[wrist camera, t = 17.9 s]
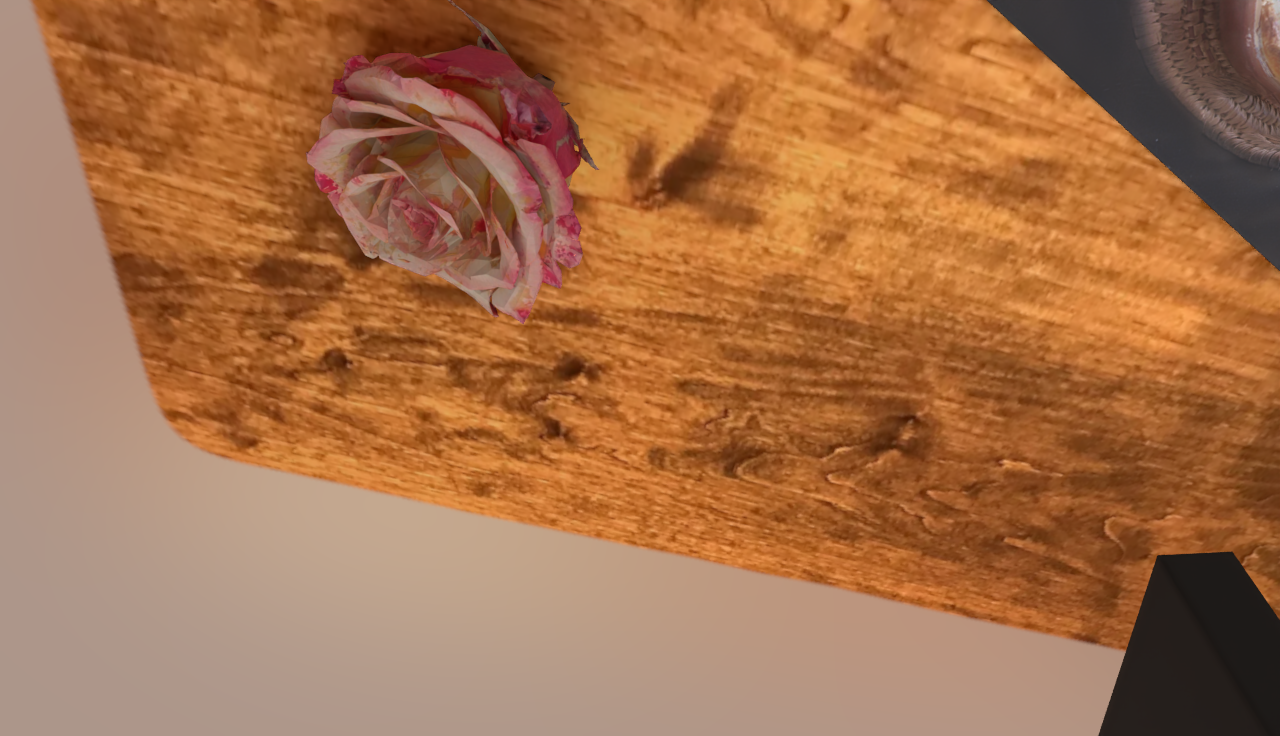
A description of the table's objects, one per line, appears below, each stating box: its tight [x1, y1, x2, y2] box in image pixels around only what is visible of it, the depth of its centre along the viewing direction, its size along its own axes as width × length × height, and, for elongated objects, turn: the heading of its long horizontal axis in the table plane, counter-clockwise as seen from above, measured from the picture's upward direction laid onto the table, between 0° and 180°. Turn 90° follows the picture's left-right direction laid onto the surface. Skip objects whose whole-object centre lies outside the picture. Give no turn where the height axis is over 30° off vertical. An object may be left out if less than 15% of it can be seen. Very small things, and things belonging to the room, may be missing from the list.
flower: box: [306, 0, 599, 324], centre depth 38 cm, size 10×9×8 cm
